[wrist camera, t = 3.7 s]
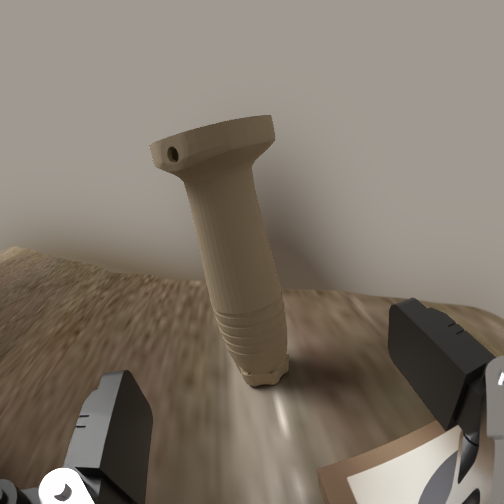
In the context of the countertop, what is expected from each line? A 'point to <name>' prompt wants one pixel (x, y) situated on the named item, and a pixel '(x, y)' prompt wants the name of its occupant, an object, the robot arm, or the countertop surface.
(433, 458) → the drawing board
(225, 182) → the handle
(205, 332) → the countertop surface
